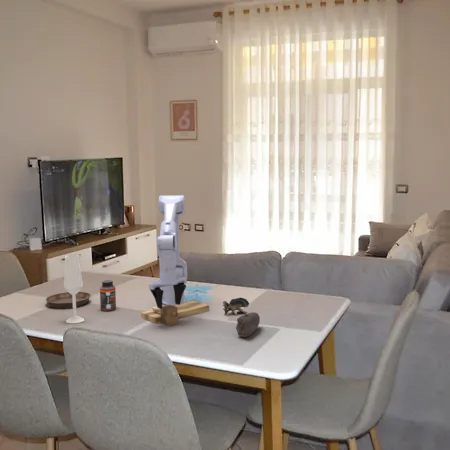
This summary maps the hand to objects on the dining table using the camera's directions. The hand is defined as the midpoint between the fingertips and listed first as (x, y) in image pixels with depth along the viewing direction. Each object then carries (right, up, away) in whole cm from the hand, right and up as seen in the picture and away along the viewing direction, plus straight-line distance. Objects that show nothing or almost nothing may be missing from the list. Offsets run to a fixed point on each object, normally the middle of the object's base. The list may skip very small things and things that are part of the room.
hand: (168, 306), depth 199 cm
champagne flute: (-35, -6, +6) cm, 36 cm away
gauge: (-2, -6, +3) cm, 7 cm away
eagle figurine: (+24, -5, +11) cm, 27 cm away
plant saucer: (-44, -4, +29) cm, 53 cm away
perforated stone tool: (+28, -8, -11) cm, 31 cm away
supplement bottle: (-26, -4, +20) cm, 33 cm away
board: (+1, -5, +12) cm, 13 cm away
